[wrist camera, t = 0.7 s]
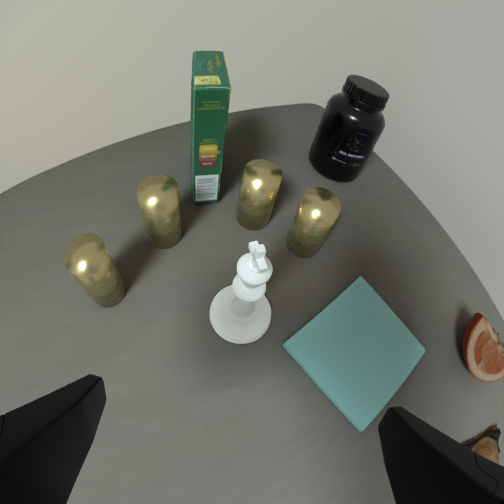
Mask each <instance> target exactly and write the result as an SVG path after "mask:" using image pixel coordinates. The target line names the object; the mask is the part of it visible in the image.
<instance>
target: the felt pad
mask: <svg viewBox="0 0 504 504" xmlns="http://www.w3.org/2000/svg"><path fill="white" fill-rule="evenodd" d="M282 346H283V347H284V348H285V349H286V350H287V351H288V353H289V354H290V355H291V356H292V357H293V358H294V359H295V361H296V362H297V363H298V364H299V365H300V366H301V367H302V369H303V370H304V371H305V372H306V373H307V374H308V375H309V377H310V378H311V379H312V380H313V381H314V382H315V383H316V384H317V386H318V387H319V388H320V389H321V390H322V391H323V392H324V393H325V395H326V396H327V397H328V398H329V399H330V400H331V401H332V402H333V403H334V404H335V406H336V407H337V408H338V409H339V410H340V411H341V412H342V413H343V414H344V415H345V417H346V418H347V419H348V420H349V421H350V422H351V423H352V424H353V425H354V426H355V427H356V428H357V429H358V431H361V432H362V431H363V430H364V429H365V428H366V427H367V426H368V425H369V424H370V423H371V421H372V420H373V419H374V418H375V417H376V416H377V415H378V413H379V412H380V411H381V410H382V409H383V408H384V406H385V405H386V404H387V403H388V401H389V400H390V399H391V398H392V397H393V395H394V394H395V393H396V392H397V390H398V389H399V388H400V386H401V385H402V384H403V382H404V381H405V380H406V378H407V377H408V376H409V374H410V373H411V372H412V370H413V369H414V367H415V366H416V365H417V363H418V362H419V360H420V359H421V357H422V356H423V354H424V353H425V351H426V350H425V349H424V347H423V346H422V345H421V344H420V343H419V341H418V340H417V339H416V338H415V337H414V335H413V334H412V333H411V332H410V331H409V329H408V328H407V327H406V326H405V325H404V324H403V322H402V321H401V320H400V319H399V318H398V317H397V315H396V314H395V313H394V312H393V311H392V310H391V309H390V307H389V306H388V305H387V304H386V303H385V302H384V301H383V299H382V298H381V297H380V296H379V295H378V294H377V293H376V292H375V291H374V289H373V288H372V287H371V286H370V285H369V284H368V283H367V282H366V281H365V280H364V278H363V277H362V276H360V277H359V278H357V279H356V280H355V281H354V282H353V283H352V284H351V285H350V286H349V287H348V288H347V289H346V290H345V291H344V292H343V293H341V294H340V295H339V296H338V297H337V298H336V299H335V300H334V301H333V302H332V303H330V304H329V305H328V306H327V307H326V308H325V309H324V310H323V311H321V312H320V313H319V314H318V315H317V316H316V317H315V318H313V319H312V320H311V321H310V322H309V323H308V324H306V325H305V326H304V327H303V328H302V329H300V330H299V331H298V332H297V333H296V334H294V335H293V336H292V337H291V338H290V339H288V340H287V341H286V342H285V343H284V344H282Z"/></svg>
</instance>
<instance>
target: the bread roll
mask: <svg viewBox="0 0 504 504" xmlns="http://www.w3.org/2000/svg"><path fill="white" fill-rule="evenodd" d="M500 434H501V432H500V429H496V428H495V426H492V427H490V428H489V429H487V430H486V431H484V432H483V433H481V434H479V435H478V436H477V437H476V438H474V439H473V440H471V441H470V442H467V443H465V445H464V446H465V447H467V448H469V449H471V450H472V451H473V452H476V453H478V454H479V455H481V456H483V457H485V458H487V459H489V460H491V461H493V462H495V463H497V464H499V453H500V450H499V446H498V438H499V437H500Z"/></svg>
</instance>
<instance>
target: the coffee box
mask: <svg viewBox="0 0 504 504" xmlns="http://www.w3.org/2000/svg"><path fill="white" fill-rule="evenodd" d="M191 85H192V86H191V182H192V200H193V204H200V203H216V202H218V201H219V192H220V182H221V171H222V162H223V152H224V142H225V133H226V124H227V117H228V108H229V100H230V93H231V86H230V81H229V76H228V71H227V67H226V62H225V58H224V54H223V52H219V51H195V52H193V62H192V82H191Z"/></svg>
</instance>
